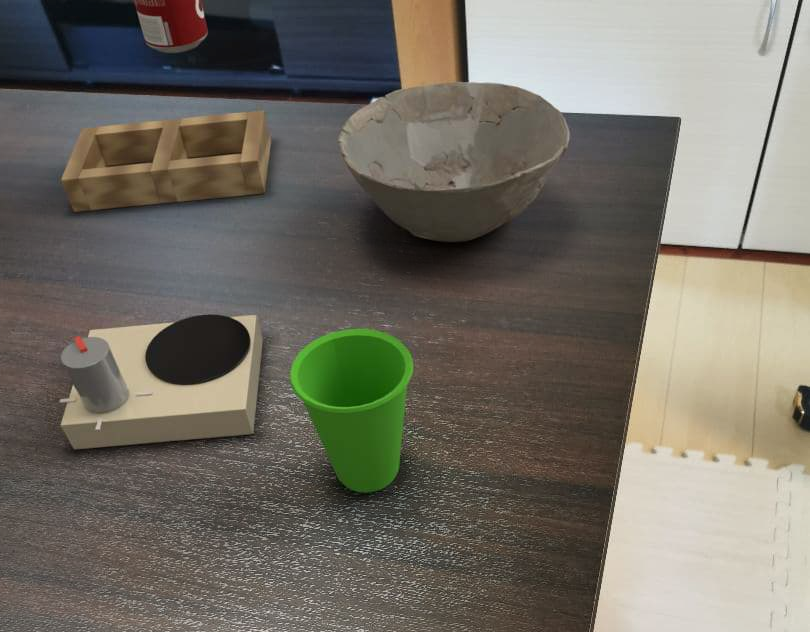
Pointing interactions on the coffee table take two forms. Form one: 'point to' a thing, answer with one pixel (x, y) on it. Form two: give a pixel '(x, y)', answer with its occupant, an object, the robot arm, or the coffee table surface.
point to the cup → (356, 402)
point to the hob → (166, 397)
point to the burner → (198, 349)
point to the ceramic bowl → (454, 155)
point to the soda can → (172, 24)
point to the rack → (168, 161)
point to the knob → (95, 374)
